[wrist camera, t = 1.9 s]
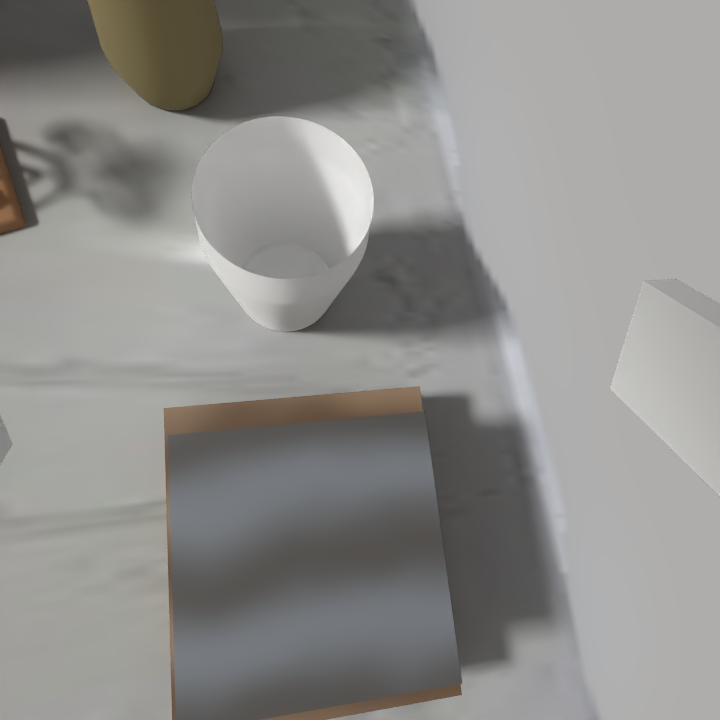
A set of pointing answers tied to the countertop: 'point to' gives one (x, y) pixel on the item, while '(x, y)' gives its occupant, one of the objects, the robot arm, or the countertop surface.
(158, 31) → the squeeze bottle
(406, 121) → the countertop surface
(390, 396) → the stepped display pedestal
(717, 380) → the robot arm
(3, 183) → the gingerbread man figurine
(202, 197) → the cup
